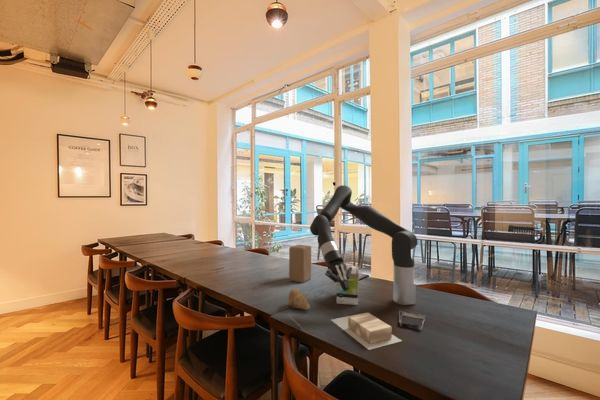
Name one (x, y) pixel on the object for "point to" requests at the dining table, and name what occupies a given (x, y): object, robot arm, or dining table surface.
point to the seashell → (298, 300)
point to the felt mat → (344, 325)
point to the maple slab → (370, 327)
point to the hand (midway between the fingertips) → (346, 290)
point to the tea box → (352, 293)
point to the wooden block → (300, 263)
